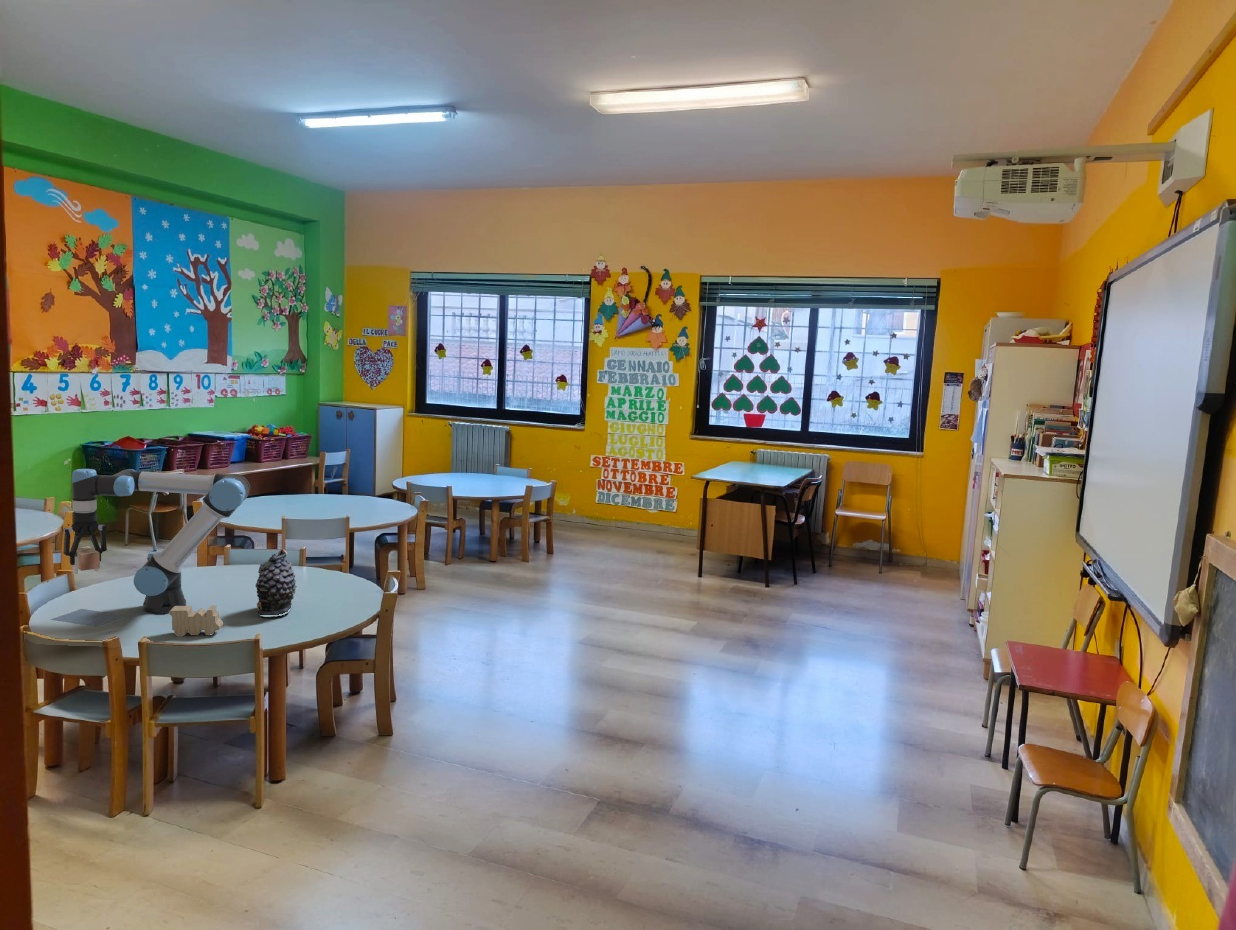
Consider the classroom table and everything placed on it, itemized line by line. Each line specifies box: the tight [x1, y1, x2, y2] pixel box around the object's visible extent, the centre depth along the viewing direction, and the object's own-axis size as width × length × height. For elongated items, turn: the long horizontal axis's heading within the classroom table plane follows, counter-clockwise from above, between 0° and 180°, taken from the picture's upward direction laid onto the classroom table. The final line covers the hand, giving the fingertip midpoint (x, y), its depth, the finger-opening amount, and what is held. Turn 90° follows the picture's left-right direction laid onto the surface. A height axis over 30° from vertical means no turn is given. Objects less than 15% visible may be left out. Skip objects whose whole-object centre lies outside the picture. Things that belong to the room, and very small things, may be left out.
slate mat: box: [50, 608, 127, 627], centre depth 306 cm, size 20×14×1 cm
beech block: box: [70, 545, 101, 572], centre depth 301 cm, size 6×6×12 cm
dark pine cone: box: [255, 548, 297, 615], centre depth 325 cm, size 21×15×25 cm
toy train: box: [168, 604, 224, 637], centre depth 297 cm, size 6×17×10 cm, turn 103°
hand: (85, 571), depth 301 cm, fingers closed on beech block, 6 cm apart
